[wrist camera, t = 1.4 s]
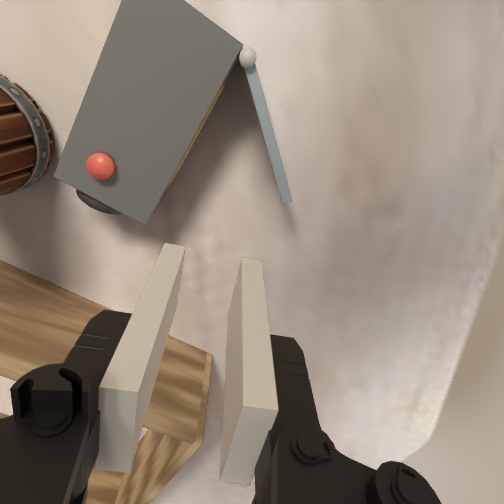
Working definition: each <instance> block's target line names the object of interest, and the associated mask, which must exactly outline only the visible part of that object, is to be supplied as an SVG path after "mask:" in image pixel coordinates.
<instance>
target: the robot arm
mask: <svg viewBox="0 0 504 504" xmlns="http://www.w3.org/2000/svg"><path fill="white" fill-rule="evenodd" d="M184 254H185V246H179V245H174V244H168V243H165V244H164V246H163V248H162V250H161V253H160V255H159V257H158V259H157V261H156V263H155V266H154V268H153V270H152V272H151V274H150V277H149V279H148V281H147V283H146V285H145V288H144V290H143V292H142V294H141V296H140V298H139V301H138V303H137V305H136V307H135V309H134V312H133V314H130V313H124V312H117V311H111V310H105V309H104V310H103V311H101V312H100V313H99V314H97V315H96V316H94V317H93V318H91V319H90V320H89V322H88V323H87V325H86V327H85V328H84V330H83V331H82V334H81V336H79V338H78V340H77V341H76V343H75V345H74V347H73V348H72V349H71V351H70V352H69V354H68V356H67V357H66V359H65V360H64V362H63V363H58V364H47V365H44V366H41V367H38V368H35V369H33V370H31V371H30V372H28V373H26V374H25V375H23V376H22V377H20V378H19V379H18V380H17V381H16V383H15V384H14V385H13V386H12V387H11V388H10V391H11V399H12V407H13V415H11V416H9V417H5V418H0V504H85V502H86V499H87V493H88V480H89V477H90V475H91V472H92V469H93V467H94V464H95V461H96V470H105V471H115V472H125V473H130V470H131V466H132V463H133V459H134V456H135V452H136V448H137V445H138V441H139V438H140V434H141V431H142V427H143V424H144V420H145V416H146V413H147V409H148V406H149V402H150V399H151V395H152V391H153V388H154V384H155V381H156V377H157V374H158V370H159V367H160V363H161V359H162V356H163V352H164V349H165V345H166V342H167V338H168V334H169V331H170V327H171V324H172V320H173V317H174V313H175V310H176V306H177V299H178V293H179V286H180V280H181V273H182V267H183V260H184ZM308 377H309V376H308V372H307V368H306V363H305V358H304V354H303V351H302V349H301V348H300V346H299V345H298V343H297V342H296V341H295V339H294V338H290V337H283V336H277V335H271V334H270V331H269V322H268V313H267V304H266V295H265V287H264V278H263V269H262V261H260V260H255V259H250V258H244V257H242V259H241V264H240V268H239V272H238V276H237V280H236V284H235V289H234V293H233V297H232V301H231V305H230V310H229V314H228V331H227V350H226V369H225V388H224V408H223V427H222V446H221V465H220V482H225V483H235V484H245V485H250V484H251V482H252V479H253V476H254V474H255V492H256V494H255V496H254V499H253V501H252V504H441V502H440V500H439V499H438V497H437V495H436V493H435V492H434V490H433V489H432V487H431V486H430V485H429V483H428V482H427V481H426V479H425V478H423V477H422V476H421V475H420V474H419V473H418V472H417V471H416V470H414V469H413V468H411V467H409V466H407V465H405V464H403V463H400V462H395V461H389V462H385V463H382V464H381V465H380V467H379V468H378V469H377V470H374V469H372V468H370V467H368V466H365V465H363V464H361V463H359V462H357V461H354V460H352V459H350V458H348V457H346V456H345V455H343V454H341V453H340V452H339V451H338V450H336V449H335V446H334V444H333V442H332V441H331V440H330V438H329V437H328V435H327V434H326V433H325V432H323V431H322V430H321V427H320V424H319V420H318V416H317V411H316V407H315V402H314V398H313V394H312V389H311V385H310V380H309V379H308Z"/></svg>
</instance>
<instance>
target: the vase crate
mask: <svg viewBox="0 0 504 504" xmlns="http://www.w3.org/2000/svg"><path fill="white" fill-rule="evenodd" d="M104 309H105V310H110V309H108V308H106V307H103V306H101V305H99V304H97V303H94V302H92V301H90V300H88V299H85V298H83V297H81V296H79V295H76V294H74V293H72V292H70V291H68V290H65V289H63V288H61V287H59V286H56V285H54V284H52V283H50V282H47V281H45V280H43V279H41V278H38V277H36V276H34V275H32V274H29V273H27V272H25V271H23V270H20V269H18V268H16V267H14V266H11V265H9V264H7V263H5V262H3V261H0V376H3V377H6V378H9V379H12V380H14V381H17V380H18V379H19V378H20V377H22V376H23V375H25V374H26V373H28V372H30V371H31V370H33V369H35V368H38V367H41V366H44V365H47V364H58V363H63V362H64V360H65V359H66V357H67V356H68V354H69V352H70V351H71V349H72V348H73V347H74V345H75V343H76V341H77V340H78V338H79V336H81V334H82V331H83V330H84V328H85V327H86V325H87V323H88V322H89V320H90V319H91V318H93V317H94V316H96V315H97V314H99V313H100V312H101V311H103V310H104ZM111 311H112V310H111ZM211 362H212V355H211V354H209V353H206V352H204V351H202V350H200V349H197V348H195V347H193V346H191V345H189V344H186V343H184V342H182V341H180V340H177V339H175V338H173V337H171V336H168V338H167V342H166V345H165V349H164V352H163V356H162V359H161V363H160V367H159V370H158V374H157V377H156V381H155V384H154V388H153V391H152V395H151V399H150V402H149V406H148V409H147V413H146V416H145V420H144V424H143V427H145V428H148V429H149V430H148V431H147V432H146V434H145V435H144V436H143V438H142V439H141V440H140V442H139V443H138V445H137V448H136V452H135V456H134V459H133V463H132V466H131V470H130V473H125V472H115V471H105V470H96V461H95V464H94V467H93V469H92V472H91V475H90V477H89V480H88V493H87V499H86V502H85V504H149V503H150V502H151V501H152V500H153V499H154V498H155V497H156V496H157V494H158V493H159V492H160V491H161V490H162V489H163V488H164V486H165V485H166V484H167V483H168V482H169V481H170V480H171V479H172V477H173V476H174V475H175V474H176V473H177V472H178V471H179V469H180V468H181V467H182V466H183V465H184V464H185V463H186V462H187V460H188V459H189V458H190V457H191V456H192V455H193V454H194V452H195V451H196V450H197V449H198V448H199V447H200V446H201V445H202V443H203V440H204V430H205V420H206V411H207V401H208V391H209V381H210V372H211ZM5 417H9V416H8V415H5V414H2V413H0V418H5Z"/></svg>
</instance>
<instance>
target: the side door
mask: <svg viewBox="0 0 504 504" xmlns="http://www.w3.org/2000/svg"><path fill="white" fill-rule="evenodd" d="M239 61H240V65H241V66H242V67H243V68H244V71H245V74H246V78H247V81H248V85H249V88H250V92H251V95H252V99H253V102H254V106H255V109H256V113H257V117H258V120H259V124H260V127H261V131H262V134H263V138H264V141H265V145H266V148H267V152H268V155H269V159H270V162H271V166H272V169H273V173H274V176H275V180H276V183H277V187H278V190H279V193H280V196H281V199H282V202H283V204H285V203H289V202H292V199H291V195H290V191H289V188H288V184H287V180H286V176H285V173H284V169H283V165H282V162H281V158H280V154H279V151H278V147H277V143H276V139H275V136H274V132H273V128H272V125H271V121H270V117H269V113H268V110H267V106H266V102H265V99H264V95H263V91H262V87H261V84H260V80H259V76H258V73H257V69H256V65H255V62H256V53H255V51H254V50H253V49H251V48H244V49H243V50H242V51H241V52H240V55H239Z"/></svg>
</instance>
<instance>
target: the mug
mask: <svg viewBox="0 0 504 504" xmlns="http://www.w3.org/2000/svg"><path fill="white" fill-rule="evenodd" d="M50 133H51V130H50V127H49V124H48V121H47V119H46V117H45V116H44V114H43V112H42V110H41V109H39V108H38V107H37V105H36V103H35V100H34V99H33V98H32V97H31V96H30V95H29V94H28V93H27V92H26V91H25V90H24V89H23V88H21V87H20V86H19V85H18V84H17V83H11V82H10V81H9V80H8V79H7V78H6V77H5V76H3V75H1V74H0V195H7V194H9V193H12V192H15V191H18V190H20V189H23V188H26V187H28V186H30V185H32V184H33V183H34V182H35V181H37V180H38V179H39V178H40V177H41V176H42V175H43V174H44V173H45V171H46V170H47V169H48V161H50V160H51V159H52V153H53V140H52V138H51V136H50Z"/></svg>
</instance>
